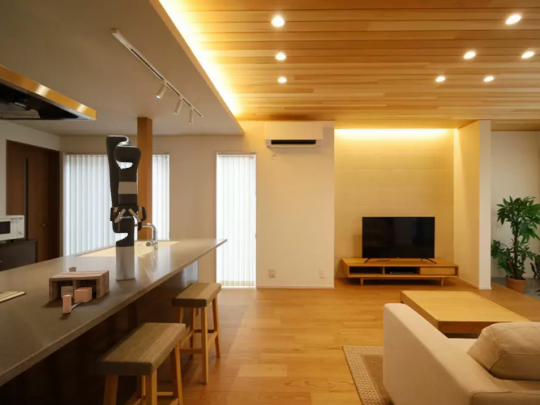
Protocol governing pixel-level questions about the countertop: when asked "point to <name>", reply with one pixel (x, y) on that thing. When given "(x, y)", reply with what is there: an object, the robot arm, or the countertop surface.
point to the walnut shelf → (79, 282)
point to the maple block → (67, 290)
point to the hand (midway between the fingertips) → (128, 231)
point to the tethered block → (77, 298)
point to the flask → (72, 269)
